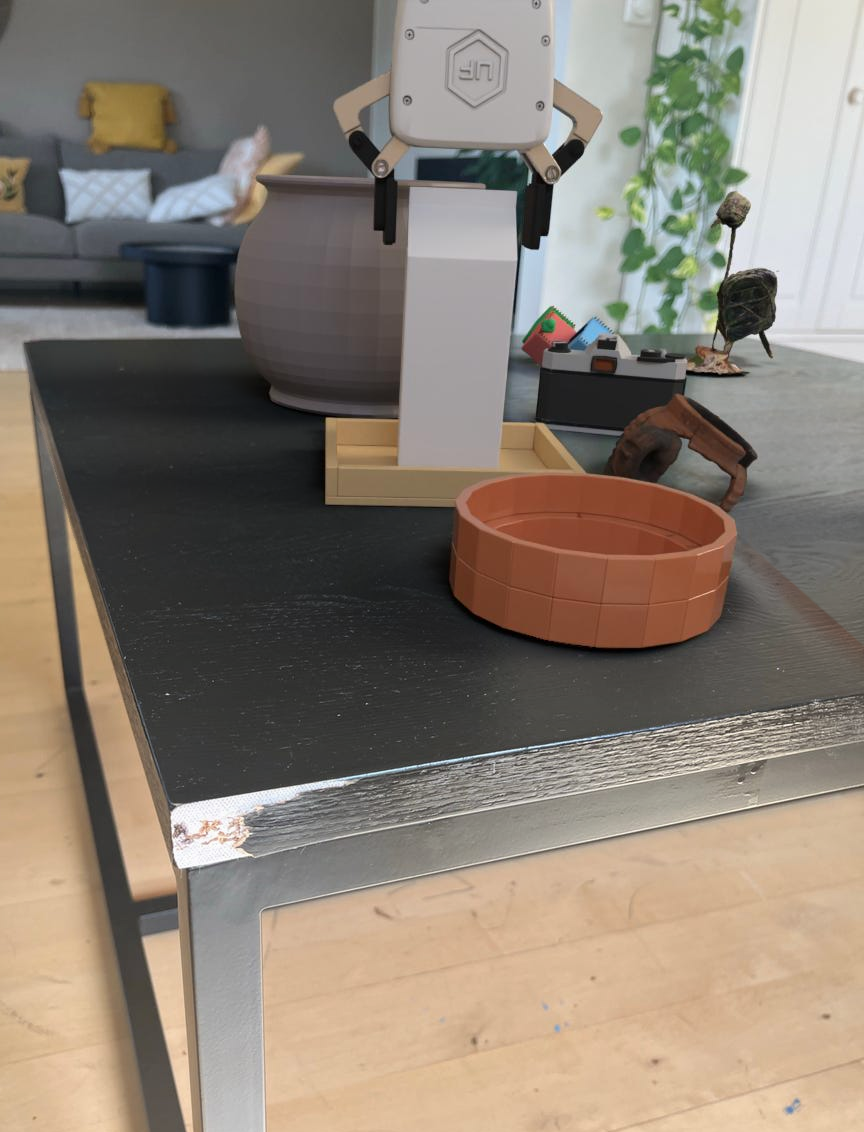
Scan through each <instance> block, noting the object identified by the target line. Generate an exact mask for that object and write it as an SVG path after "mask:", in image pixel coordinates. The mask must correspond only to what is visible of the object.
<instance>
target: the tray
mask: <svg viewBox="0 0 864 1132" xmlns="http://www.w3.org/2000/svg"><path fill="white" fill-rule="evenodd" d="M397 440H398V418H385V419H374V418H352V417H325V443H324V445H325V447H324V450H325V451H324V456H325V457H324V462H325V464H324V466H325V467H324V468H325V469H324V484H325V486H324V488H325V489H324V492H325V493H324V500H325V502H324V504H325V505H326V506H327V505H328V506H369V507H370V506H371V507H373V506H375V507H378V506H379V507H380V506H381V507H425V508H426V507H428V508H454V506H455V501H456V499H457V498H458V496H459V495H460V493H461V492H462V491H463V490H464V489H466V488H468V487H470V486H472V485H474V484H476V483H479V482H481V481H483V480H488V479H493V478H497V477H502V476H507V475H515V474H528V473H542V472H544V473H545V472H558V473H587V472H586V471H585V470H584V468H583V467H582V466H581V465H580V464H579V463H578V461H577V460H576V459H575V458H574V457H573V455H572V454H571V453H570V452H569V451H568V450H567V448H565V446H564V445H563V444H562V443H561V442H560V441H559V439H558V438H557V437H556V436H555V434H553V432H552V431H551V429H548V428H547V427H546V426H545V424H544V423H536V422H510V421H503V422H502V433H501V444H500V455H499V466H498V468H467V467H422V466H397Z"/></svg>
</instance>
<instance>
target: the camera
mask: <svg viewBox="0 0 864 1132" xmlns="http://www.w3.org/2000/svg"><path fill="white" fill-rule="evenodd" d="M686 358H687V357H686V355H685V354H681V353H673V352H672V353H670V352H669V353H667V350H666V348H659V349H654V348H653V349H652V348H643V349H640V354H632V352H631V350H630V347H628V345H627V343H626V342H625V341H624V339H623V338H622V337H621V336H620V334H619V333H615V334H607V333H600V334H599V336H598V337H597V338H596V339H595V340H594V341H593V342H592V343H591V344H590V345H589V346H588V347H587V348H586V349H585V350H584V351H581V350H570V349H569V348H568V342H564V341H553V342H552V347H551V348H549V349H545V350H544V353H543V363H542V365H540V367H539V368H540V369H539V379H538V388H537V398H536V408H535V409H536V410H535V419H534V420H535V423H544V424H545V426H546V427H547V428H548V429H549V430H556V431H567V432H576V433H586V434H596V435H607V436H616V437H617V436H618V437H620V435H621V434H622V433H624V429H625V428H626V427H627V426H629V425H630V423H631V421H633V420H634V419H636V418H637V416H638V415H639V414H642V413H644V412H646V411H647V410H649V409H653V408H656V407H662V406H666V405H667V404H668V403H669V402H670V401H671V399H672V398H673V396H674V395H675V394H680V395H683V396H685V391H686V386H687V379H688V377H687V374H686V372H687V370H686V367H687V360H686Z"/></svg>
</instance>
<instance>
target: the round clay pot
mask: <svg viewBox="0 0 864 1132" xmlns="http://www.w3.org/2000/svg"><path fill="white" fill-rule="evenodd" d="M254 178H255V181H256V182H257V183H259V184H260V185H262V186H263V187H264V188H265V189H266V192H267V194H266V195H267V196H266V200H265V201H264V203H263V205H262V207H261V208H260V210H259V212H258V213H257V214H256V216H255V217H254V218H253V220H252V221H251V222H250V224H249V225H248V228H247V230H246V232H245V233H244V235H243V237H242V241H241V243H240V246H239V249H238V253H237V258H236V265H235V271H234V305H235V314H236V316H235V317H236V321H237V326H238V330H239V336H240V338H241V341H242V344H243V347H244V350H245V351H246V354H247V356H248V358H249V360H250V362H251V364H252V365H253V366H254V368H255V369H256V371H257V372H258V373H259V374H260V375H261V376H262V378H264V379H265V380H266V381H267V382H268V383H269V384H270V385H271V386H270V389H269V392H268V394H269V398H270V400H271V401H272V402H273V403H275V404H276V405H279V406H282V407H286V408H288V409H293V410H297V411H301V412H304V413H305V412H306V413H311V414H317V415H324V416H331V417H338V418H357V419H398V418H399V396H400V374H401V352H402V330H403V307H404V285H405V263H406V243H407V227H408V211H409V192H410V187H433V188H457V189H480V190H486V188H487V187H486V184H484V183H481V182H465V181H446V180H445V181H444V180H443V181H442V180H423V179H422V180H421V179H401V178H400V179H399V178H398V179H397V178H394V179H395V181H398V192H397V220H396V243H393V245H384V243H383V231H374V229H373V220H374V182H375V177H373V178H372V177H352V176H351V177H349V176H326V175H325V176H324V175H323V176H322V175H297V174H267V173H266V174H263V173H262V174H256V175H255V177H254Z"/></svg>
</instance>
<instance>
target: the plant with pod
mask: <svg viewBox="0 0 864 1132" xmlns="http://www.w3.org/2000/svg"><path fill="white" fill-rule="evenodd" d="M751 207H752V204H751V202H750V200H749V199H748V198H747V197H746V196H743V195H742V194H741V193H739V192H738V191H737V190H733V191H729V192H728V193H727V194H726V195H725V199H724V200H723V202H722V203H721V204H720V205H719V207H718V209H717V211H716V213H715V216H716V219H715V220H713V223H712V224H711V225H710V228H711V229H714V228H716V227H717V225H722V226H727V227H728V228H730V239H729V240H730V241H729V252H728V258H727V264H726V270H725V272H724V277H723V280H722V281H720V285H719V287H718V290H717V292H716V297H717V320H716V322H715V330H714V334H713V337H712V343H711V347H709V346H704V345H700V344H697V346H696V347H695V348H694V349H695V350H694V351H695V354H693V355H692V356H689V357H685V358H686V360H687V367H686V371H688V372H694V373H702V372H704V373H714V374H716V373H717V374H718V375H723V374H726V375H733V374H742V375H743V374H744V375H749V374H751V373H750V371H745V370H743V368H741V367H740V366H739V365H736V363H735V362H734V361H729V358H730V353H731V351H732V348H733V346H734V343H736V342H738V341H740V340H743V339H745V338H747V337H749V336H752V335H753V336H758V337H759V340H760V342H761V344H762V347H763V349H764V350H765V352H766V354H767V355H768V358H770V359H773V358H774V354H773V353H774V352H773V350H772V348H771V344H770V343H769V340H768V337H767V336H766V335H767V334H765V331H767V330H769V329H770V328H771V327H773V324H774V323H775V321H776V318H777V315H776V312H777V305H776V297H777V293H778V288H779V287H778V277H777V275H776V273H777V272H779V270H776V273H775V271H773V270H770V269H768V268H765V267H755V268H754V267H753V268H750V269H746V270H739V271H737V272H736V273H731V274H730V273H729V272H730V270H731V266H732V261H733V253H734V252H733V250H734V244H735V241H736V236H737V233H736V232H737V229H738V228H740V227H741V226H742V225H743V224H744V222H745V221H746V219H747V215H748V214H749V212H750V210H751ZM718 333H720V335H721V336H722V338H723V341H724V346H723V350H721V349H718V348H715V340H716V338H717V334H718Z"/></svg>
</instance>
